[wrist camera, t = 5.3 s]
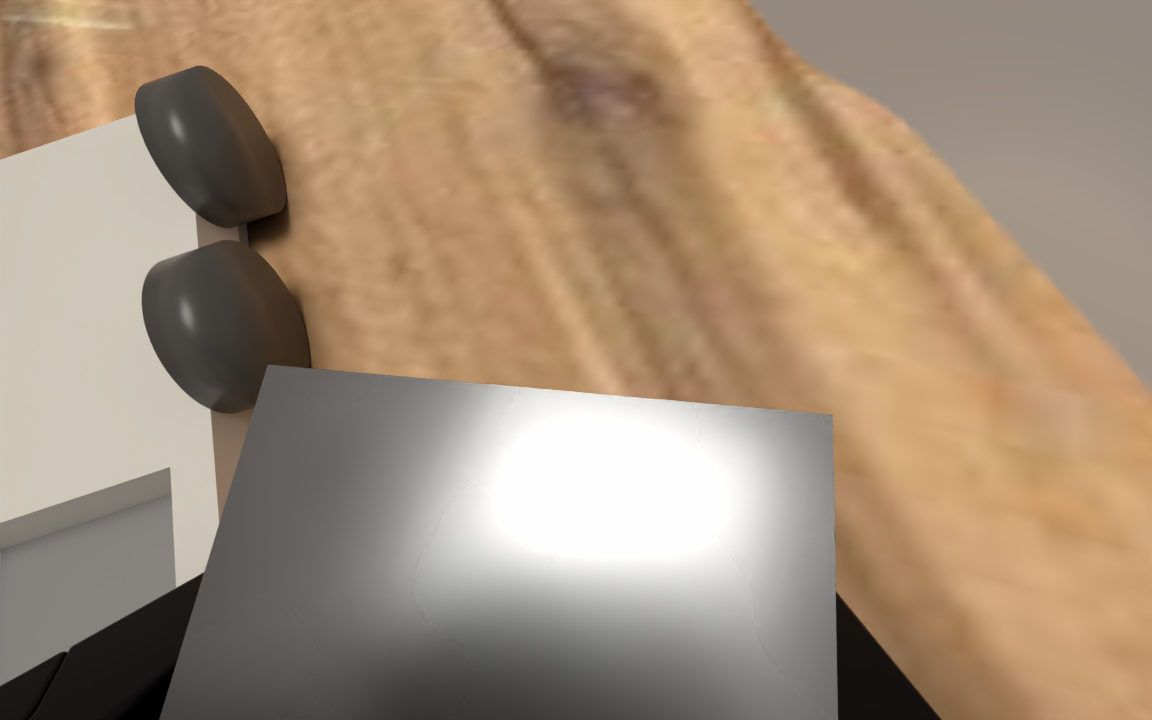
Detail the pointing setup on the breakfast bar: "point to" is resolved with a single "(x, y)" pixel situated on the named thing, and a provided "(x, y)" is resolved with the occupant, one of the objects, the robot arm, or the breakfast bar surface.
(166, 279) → the chassis
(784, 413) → the block
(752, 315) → the breakfast bar surface
